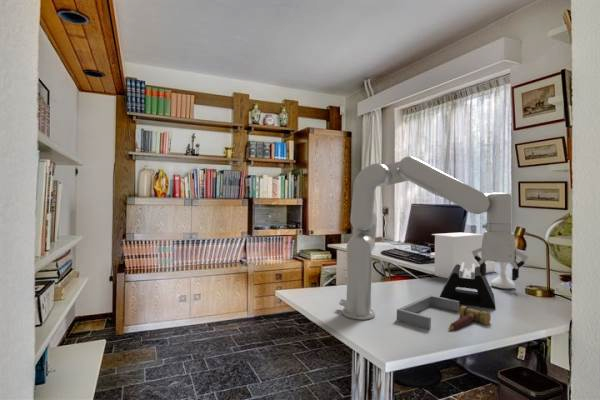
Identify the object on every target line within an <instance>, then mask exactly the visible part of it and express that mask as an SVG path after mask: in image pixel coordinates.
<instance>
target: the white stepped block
mask: <svg viewBox="0 0 600 400" xmlns="http://www.w3.org/2000/svg"><path fill="white" fill-rule="evenodd" d="M483 234H484V233H483ZM483 234H481V233H471V232H461V231H459V232H447V233H443V232H442V233H432V234H431V236H434V252H430V254H429V255H430V259H434V276H437V277H440V278H446V279H448V278H449V276H450V274H451V273H452V271H453V269H454V267H455V265H457V264H459V265H460V266H461V264H462V263H465V267H464V268H466V269H471V267H472V264H475V268H476V267H478V266H479V267H480V264H479V263H478V262H477V260H476V259H475V257H474V256H473V254H472V251H474V250H476V249H479V248H481V247H482V240H483ZM478 256H479V257H480V258H481V259H482V257H481V252H478ZM485 264H486V274H489V273H493V272H495V271H496V261H488V260H487V261H486V262H485Z"/></svg>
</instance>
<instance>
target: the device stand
mask: <svg viewBox="0 0 600 400" xmlns="http://www.w3.org/2000/svg"><path fill="white" fill-rule="evenodd" d="M464 267H465V263H462V264H461V266H460V265H459V264H457V265H455V267H454V269H453V271H452V273H451V274H450V276H449V278H447V281H446V282H445V284H444V286H443V288H442V290H441V292H440V295H439V297H442V298H446V299H451V300H456V301H459V305H461V306H467V307H468V306H471V307H476V308H477V307H478V308H483V309H490V310H495V309H496V308H497V307H496V300H495V294H494V293H493V290H492V287H491V284H490V283H489V280H488V278H487V277H486V275H484V276H481V273H480V267H479V266H478V267H476V268H475V264H472V267H471V269H466V268H464ZM459 288H463V289H459ZM467 289H469V290H467Z"/></svg>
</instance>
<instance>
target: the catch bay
mask: <svg viewBox="0 0 600 400" xmlns="http://www.w3.org/2000/svg"><path fill="white" fill-rule="evenodd" d="M431 306H432V307H436V308H440V309H444V310H448V311H453V312H457V313H459V310H460V304H459V301H456V300H451V299H446V298H442V297H440V296H437V295H433V294H428V295H426V296H424V297H422V298H420V299H417V300H415V301H413V302H411V303H409V304H406V305H404V306H402V307H399V308H397V309H396V321H398V322H403V323H405V324H409V325H411V326H414V327H415V326H416V327H419V328H422V329H426V330H431V328H432V327H431V326H432V324H431V323H432V317H431V316H427V315H424V314H420V313H419V312H421V311H423V310H425V309H427V308H429V307H431Z"/></svg>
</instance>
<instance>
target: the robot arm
mask: <svg viewBox="0 0 600 400" xmlns="http://www.w3.org/2000/svg"><path fill="white" fill-rule="evenodd" d="M408 181H409V182H410V183H413V184H414V185H416V186H418V187H420V188H422V189H423V190H425V191H427V192H428V193H431V194H433V195H435V196H437V197H440V198H443V199H444V200H446V201H447V200H448V202H449V201H450V202H451V203H453V204H455V205H457V206H459V207H461V208H463V209H464V210H465V211H466V212H468V213H470V214H474V215H481V214H483V213H486V223H484V224H482V226H481V227H482V229H485V230H486V231H484V232H483V240H482V247H481V248H479V249H476V250H474V251H472V254H473V256H474V257H475V259H476V260H477V262H478V263H479V264H480V273H481V276H484V275H485V276H486V275H487V273H486V264H485V262H486V261H487V260H488V261H495V263H496V262H498V263H499V262H505V263H508V264H510V265H511V266H512V267H513V268H512V272H511V281H512V282H514V281H517V280H518V279H519V275H520V268H521V267H522V266H524V265H526V262H527V261H528V259H529V256H528V255H527V254H524V253H523V252H521V251H519V250H517V245H516V237H515V233H514V232H513V231H512V229H513V227H512V226H513V225H512V223H513V221H512V219H513V215H512V212H513V210H512V209H513V207H512V206H513V196H512V195H511V193H508V192H492V193H491V192H490V193H484V192H482V191H480V190H478V189H476V188H474V187H472V185H471V186H470V185H469V184H466V183H465V182H463V181H460V180H459V179H456V178H454V177H453V176H451V175H449V174H447V173H445V172H443V171H441V170H439V169H437V168H435V167H433V166H431V165H430V164H428V163H426V162H424V161H422V160H421V159H418V158H416V157H414V156H410V155H409V156H405V157H403V158H402V159H401V160H400V161H397V162H396V161H395V162H392V163H387V164H383V163H380V162H379V163H377V162H376V163H372V164H370V165H367V166H365V167H364V168H363V169H361V170H360V171H359V172H358V174H357V176H356V177H355V179H354V182H353V187H352V188H353V189H352V198H351V211H350V218H349V221H350V225H351V226H352V236H351V237H350V238H349V240H348V241H347V244H346V252H345V254H346V266H347V267H346V299H345V298H341V299H340V302H339V305H340V306H343V309H342V315H343V316H344V317H346V318H349V319H353V320H360V321H361V320H362V321H363V320H371V319H373V318H375V316H376V312H375V310H374V309H372V271H373V269H372V268H373V267H372V266H373V265H372V264H373V263H372V252H373V251H374V249H375V246H376V235H377V234H376V233H377V220H378V219H377V213H376V212H375V210H374V209H375V208H374V207H375V192H376V188H377V187H386V186H391V185H395V184H396V185H397V184H400V183H403V182H408ZM478 252H481V257H482V259H481V258H480V257H479V256H478ZM517 256H518V257H520V259H521V260H520V262H517Z"/></svg>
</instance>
